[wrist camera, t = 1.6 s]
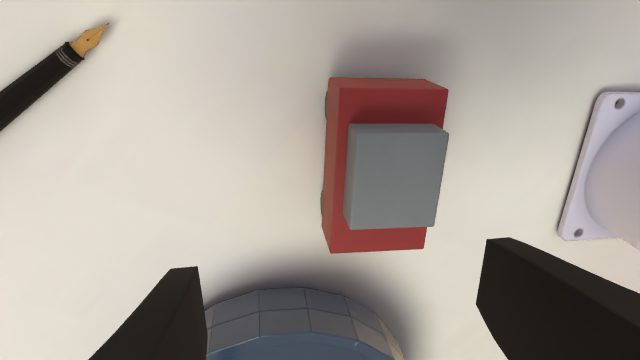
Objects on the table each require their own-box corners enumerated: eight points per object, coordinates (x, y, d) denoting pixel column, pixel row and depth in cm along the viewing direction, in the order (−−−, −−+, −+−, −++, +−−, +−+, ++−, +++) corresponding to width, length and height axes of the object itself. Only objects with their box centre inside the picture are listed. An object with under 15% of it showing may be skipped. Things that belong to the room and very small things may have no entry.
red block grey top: (419, 76, 18) (467, 96, 14) (401, 217, 21) (437, 268, 17) (326, 74, 18) (348, 95, 14) (319, 220, 20) (336, 273, 16)
